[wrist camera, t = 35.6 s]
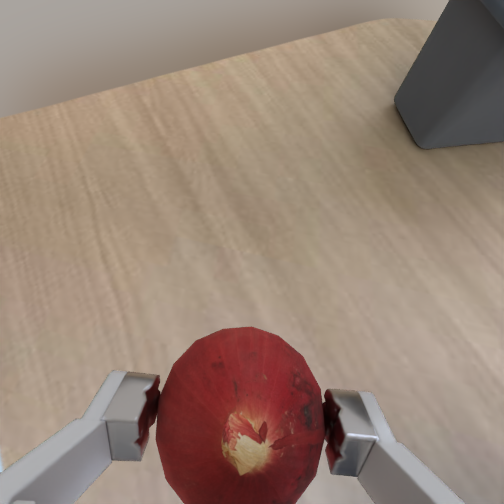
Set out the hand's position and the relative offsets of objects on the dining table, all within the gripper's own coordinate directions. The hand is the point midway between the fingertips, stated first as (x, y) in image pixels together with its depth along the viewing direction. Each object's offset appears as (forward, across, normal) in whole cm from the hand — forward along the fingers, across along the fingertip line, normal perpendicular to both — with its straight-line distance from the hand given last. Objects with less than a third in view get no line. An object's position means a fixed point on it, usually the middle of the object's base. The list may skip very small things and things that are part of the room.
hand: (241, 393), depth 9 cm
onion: (+3, 0, +4) cm, 5 cm away
